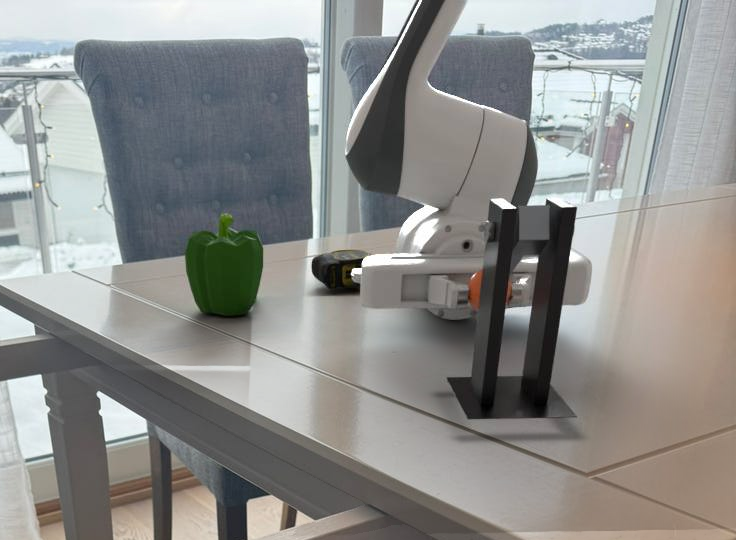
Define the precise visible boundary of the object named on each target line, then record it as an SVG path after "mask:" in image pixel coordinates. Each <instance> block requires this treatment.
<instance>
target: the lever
mask: <svg viewBox="0 0 736 540" xmlns="http://www.w3.org/2000/svg"><path fill="white" fill-rule="evenodd" d="M549 240H550V205H545V204H543V205H541V204H539V205H538V204H537V205H535V204H533V205H527V206H518V207H517V217H516V225H515V234H514V242H513V250H512V258H511V267H510V275H511V273H512V272H513V270H514V269H515V267H516V266H517V265H518V263H519V262H520V260H521V259H522V257H523V256H524V255H539V254H540V253H541V251H542V250H543V248H544V247H545V246H546V244H547V243H548V242H549ZM510 275H509V276H510ZM481 279H482V269H480V270H479V271H477V272H476V273H475V274H474V275H473V276H472V277H471V279H470V281H469V283H468V285H469V296H468V297H467V298H468V301H469V303H470V304H471V306H472V307H473V308H474V309H476V310H477V311H478V307H479V298H480V288H481ZM510 294H511V282H510V279H509V283H508V291H507V300H506V303H507V301H508V299H509V297H510Z"/></svg>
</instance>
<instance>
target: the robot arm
mask: <svg viewBox="0 0 736 540" xmlns="http://www.w3.org/2000/svg"><path fill="white" fill-rule="evenodd" d="M468 2H469V0H415V1H414V3H413V5H412V7H411V9H410V11H409V13H408V15H407V17H406V19H405V21H404V23H403V25H402V27H401V29H400V31H399V33H398V35H397V37H396V39H395V42H394V44H393V45H392V47H391V49H390V51H389V53H388V55H387V57H386V59H385V60H384V63H383V65H382V66H381V68H380V70H379V73H377V76H376V77H375V79H374V81H373V83H372V84H371V85H370V86H369V88H368V90H367V91H366V92H365V94H364V95H363V97H362V98H361V100H360V101H359V104H358V106H357V108H356V109H355V111H354V112H353V113H354V114H353V116H352V118H351V121H350V124H349V125H348V126H349V127H348V131H347V135H346V140H345V141H346V142H345V150H344V157H345V160H346V162H347V165H348V168H349V169H350V171H351V173H352V175H353V176H354V178H355V180H356V182H357V183H358V184H359V185H360V187H361V189H363V191H366V192H370V193H376V194H381V195H385V196H388V197H394V198H397V197H400V198H402V199H404V200H405V199H406V200H409V201H412V202H415V203H417V204H420V205H424V207H422V208H420V209H418V210H417V211H415V212H414V213H412V215H410V216H409V217H408V218H407V219H406V220H405V222H404V223H403V224H402V226H401V228H400V231H399V233H398V235H397V240H396V246H395V253H392V254H391V253H390V254H389V253H386V254H385V253H384V254H374V255H373V254H372V256H368V257H366V258H365V259H364V260H363V261H362V265H361V269H353V270H352V273H351V276H352V280H353V281H354V282H356V283H360V287H359V303H360V304H361V306H362V307H364V308H367V309H372V310H386V309H387V310H388V309H391V310H392V309H427V311H429V312H430V313H432V314H433V315H434V316H437V317H439V318H441V319H445V320H450V321H461V320H465V319H469V318H472V317H475V316H478V311H477V310H476V309H474V308H473V307H472V306H471V304H470V303H469V301H468V298H467V297H468V296H469V285H468V283H469V281H470V279H471V277H472V276H473V275H474V274H475V273H476V272H477V271H479V270H480V269H483V260H484V250H485V241H484V227H485V223H486V221H488V213H489V203H490V200H491V199H504V200H505V201H507V202H508V203H510V204H511V205H513V206H514V207H516V208H517V207H518V206H528V204H529V202H530V199H531V196H532V194H533V190H534V188H535V184H536V181H537V176H538V169H539V159H538V152H537V147H536V142H535V137H534V134H533V131H532V129H531V128H530V126H529V124H528V122H527V121H526V120H525V119H520V118H519V117H516V116H514V115H511V114H508V113H505V112H503V111H500V110H498V109H496V108H495V109H494V108H492V107H488V106H486V105H480V104H477V103H474V102H471V101H468V100H466V99H463V98H460V97H458V96H455V95H451V94H449V93H445V92H443V91H440V90H437V89H435V88H434V87H432V86H431V84H430V83H429V81H428V78H429V76H430V74H431V72H432V70H433V68H434V66H435V65H436V62H437V61H438V59H439V57H440V55H441V53H442V51H443V49H444V48H445V46H446V44H447V42H448V40H449V38H450V37H451V34H452V32H453V31H454V29H455V26H456V25H457V23H458V21H459V19H460V17H461V16H462V14H463V11H464V10H465V8H466V6H467V4H468ZM538 256H539V255H524V256H523V257H522V259H521V260H520V262H519V263H518V265H517V266H516V267H515V269H514V270H513V272H512V273H511V275H510V276H509V279H510V282H511V294H510V297H509V299H508V301H507V303H506V308H505V310H506V309H513V308H526V307H532V300H533V293H534V286H535V278H536V271H537V263H538ZM592 273H593V264H592V261H591V260H590V258H588V257H587V256H586V255H584V254H582V253H581V252H579V251H578V250H577V249H574V248H573V247H571V252H570V258H569V265H568V271H567V278H566V284H565V291H564V297H563V304H562V306H581V305H582V304H585V303H586V301H587V300H588V297H589V293H590V288H591V284H592V283H591V282H592Z"/></svg>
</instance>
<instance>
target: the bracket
mask: <svg viewBox="0 0 736 540" xmlns="http://www.w3.org/2000/svg"><path fill="white" fill-rule="evenodd" d="M544 205H550V240H549V242H548V243H547V244H546V246H545V247H544V248H543V250H542V251H541V253H540V254H539V256H538V263H537V271H536V278H535V286H534V293H533V300H532V306H531V308H530V315H529V323H528V330H527V338H526V344H525V345H526V346H525V352H524V360H523V368H522V374H521V375H498V373H499V365H500V358H501V357H500V356H501V348H502V341H503V334H504V333H503V331H504V324H505V323H504V322H505V315H506V309H505V308H506V300H507V291H508V283H509V275H510V267H511V258H512V250H513V242H514V234H515V225H516V217H517V208H516V207H514V206H513V205H511V204H510V203H508V202H507V201H505V200H504V199H491V200H490V203H489V213H488V221H486V223H485V227H484V241H485V250H484V260H483V269H482V279H481V288H480V298H479V307H478V314H477V317H476V318H477V319H476V328H475V338H474V345H473V356H472V366H471V375H470V376H445V380H446V382H447V384H448V386H449V387H450V389H451V391H452V394H453V395H454V397H455V399H456V400H457V402H458V405H459V406H460V408H461V410H462V413H464V415H465V418H466V419H467V420H508V419H510V420H513V419H514V420H515V419H516V420H517V419H565V418H567V419H570V418H572V419H573V418H578V416H577V414H576V413H575V412H574V411H573V410H572V408H571V407H570V406H569V405H568V404H567V402H566V401H565V400H564V399H563V397H562V396H561V395H560V394H559V393H558V391H557V390H556V389H555V388H554V387H553V385H552V384H551V383H552V375H553V368H554V363H555V362H554V361H555V355H556V350H557V342H558V335H559V329H560V324H561V316H562V310H563V305H562V304H563V297H564V291H565V284H566V278H567V271H568V265H569V258H570V252H571V248H572V244H573V238H574V235H575V230H576V229H575V228H576V225H575V224H576V220H577V219H576V218H577V217H576V216H577V213H578V212H577V211H578V207H577V206H575V205H574V204H572V203H570V202H568V201H567V200H564V199H563V198H561V197H547V198H545V204H544Z"/></svg>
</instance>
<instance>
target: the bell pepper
mask: <svg viewBox="0 0 736 540" xmlns="http://www.w3.org/2000/svg"><path fill="white" fill-rule="evenodd" d="M233 222H234V218H233V217H232V215H231V214H230V213H221V215H220V216H219V219H218V232H217V233H214V232H212V231H210V230H197V231H193V232H192V233H191V235H190V237H189V238H188V240H187V243H186V247H185V250H184V260H185V261H184V262H185V273H186V275H187V279H188V284H189V287H190V288H189V289H190V291H191V294H192V297H193V300H194V303H195V304H196V306H197V308H198V309H199V311H200V313H204V314H210V315H211V314H214V315H215V314H217V315H221V316H224V317H229V316H233V317H234V316H240V315H241V316H242V315H246V314H248V312H250V311H251V309H252V308H253V306H254V304H255V303H256V300H257V298H258V296H257V295H258V293H259V290H260V286H261V285H260V284H261V281H262V276H263V269H264V246H263V243H262V240H261V238H260V236H259V233H258V230H249V229H245V230H241V231H238V230H236V229H233V228H230V226H232V224H233Z"/></svg>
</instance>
